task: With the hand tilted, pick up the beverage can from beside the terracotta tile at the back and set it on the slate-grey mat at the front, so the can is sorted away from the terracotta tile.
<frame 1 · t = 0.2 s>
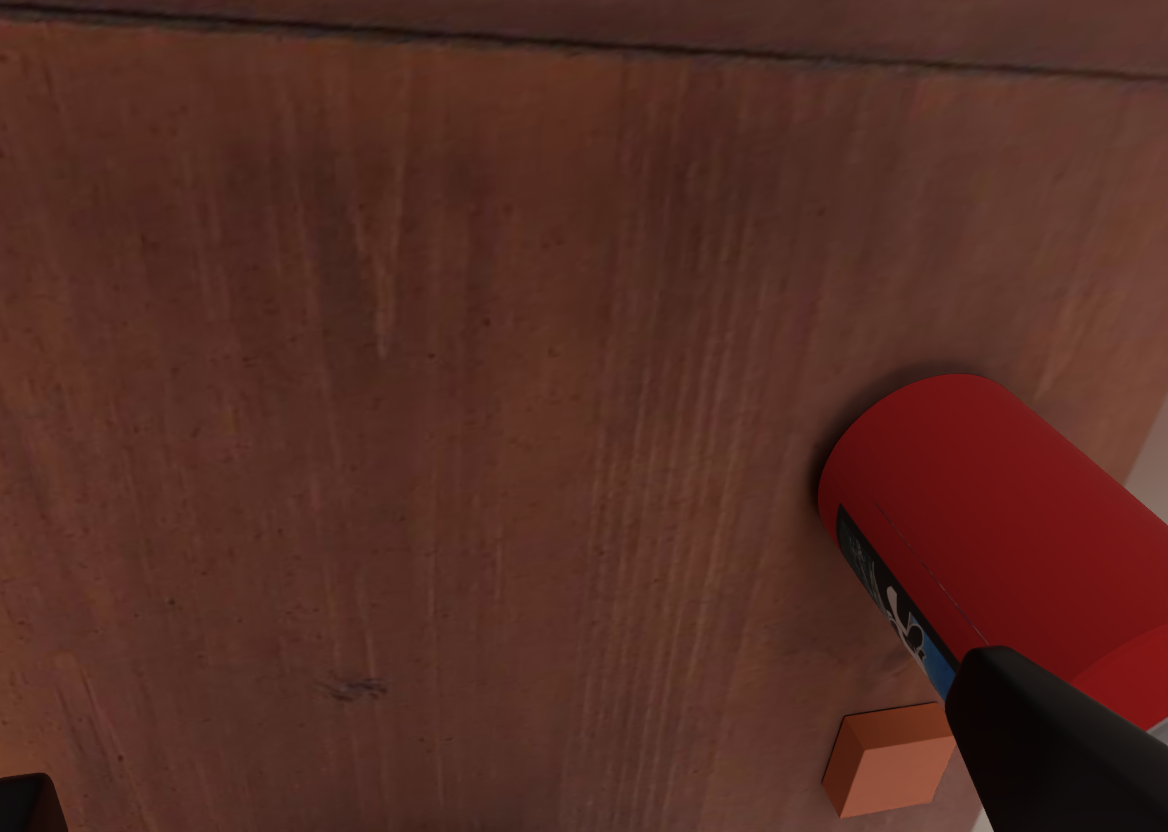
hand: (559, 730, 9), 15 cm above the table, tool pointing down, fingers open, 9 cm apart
terracotta tile: (878, 743, 37), on the table
beverage can: (904, 451, 29), on the table
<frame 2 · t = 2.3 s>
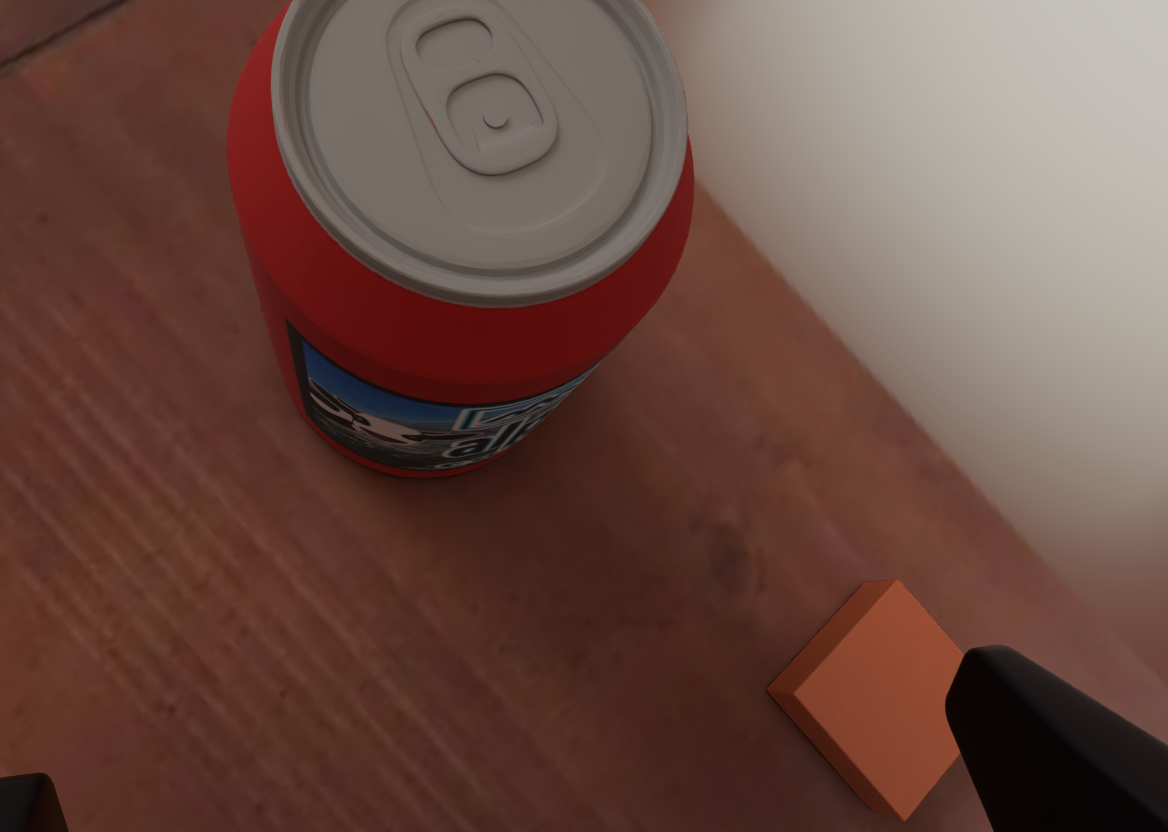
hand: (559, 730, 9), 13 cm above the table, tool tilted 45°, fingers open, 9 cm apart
terracotta tile: (867, 692, 25), on the table
beverage can: (420, 350, 24), on the table
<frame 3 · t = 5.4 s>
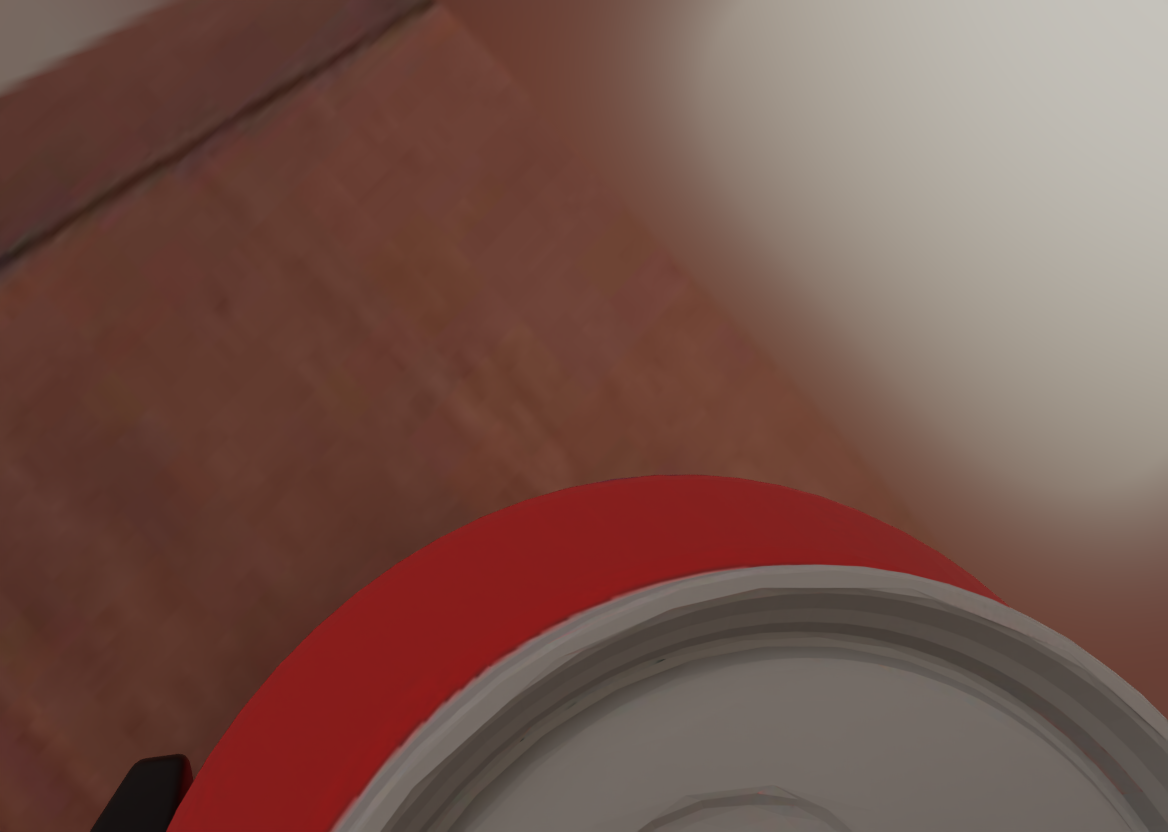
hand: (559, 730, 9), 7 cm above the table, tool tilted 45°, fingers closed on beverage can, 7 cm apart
beverage can: (479, 778, 16), on the table, touching gripper
when the fingers open (7 cm above the table, at t = 14.6 s): beverage can stays where it is, resting on grey mat.
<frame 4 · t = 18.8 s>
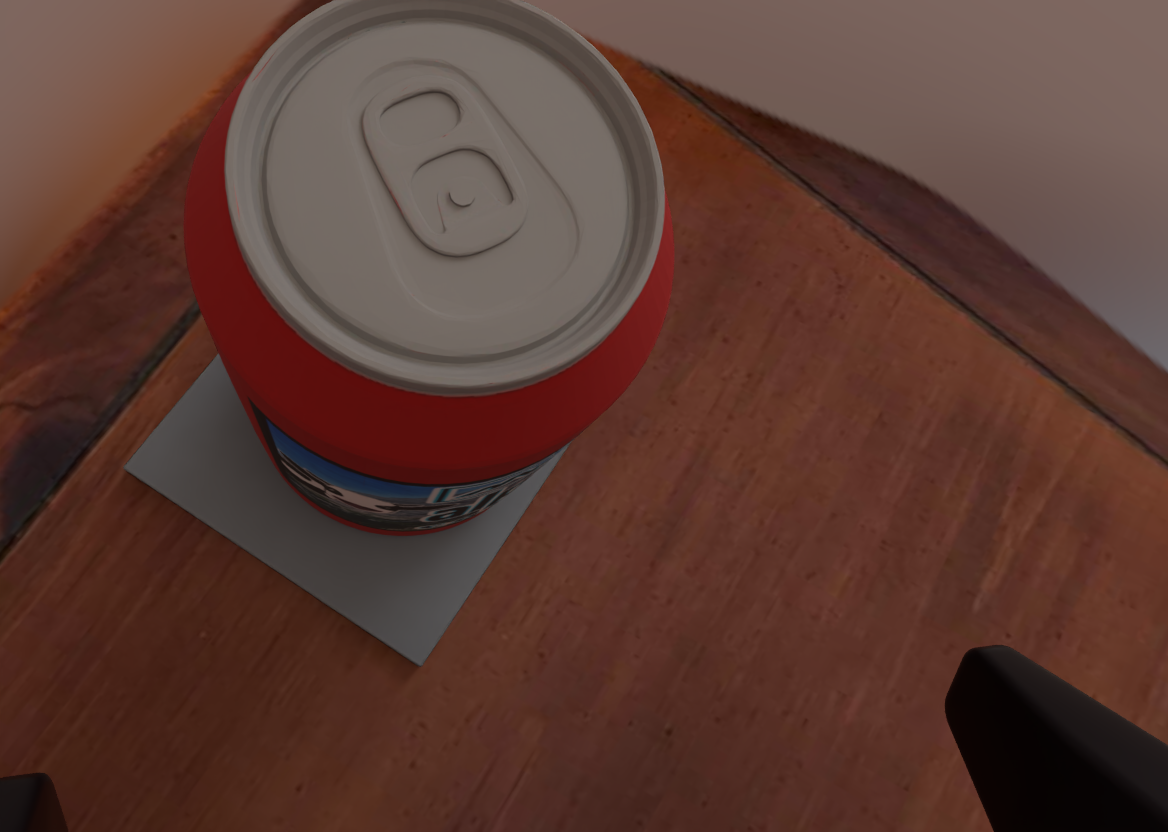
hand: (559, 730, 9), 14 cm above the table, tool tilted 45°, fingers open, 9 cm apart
grey mat: (403, 398, 23), on the table
beverage can: (402, 401, 23), resting on grey mat
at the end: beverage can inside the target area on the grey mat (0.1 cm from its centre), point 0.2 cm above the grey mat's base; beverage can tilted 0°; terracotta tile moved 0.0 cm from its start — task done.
